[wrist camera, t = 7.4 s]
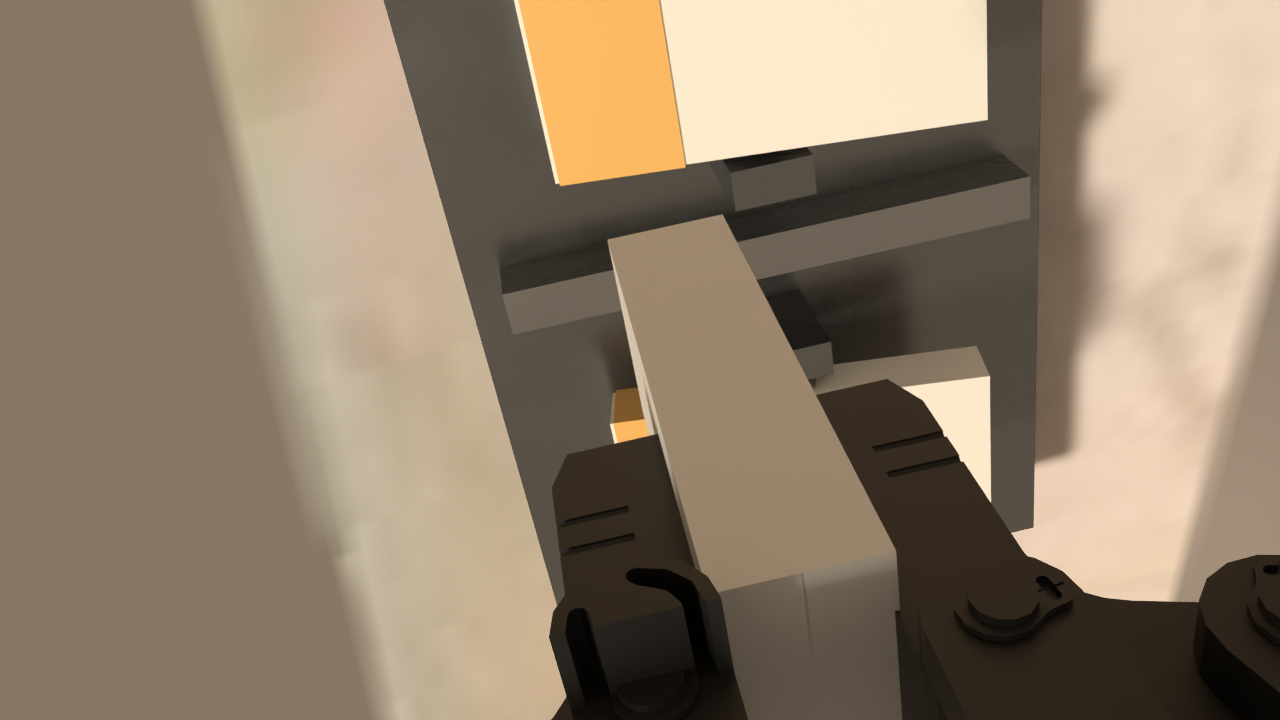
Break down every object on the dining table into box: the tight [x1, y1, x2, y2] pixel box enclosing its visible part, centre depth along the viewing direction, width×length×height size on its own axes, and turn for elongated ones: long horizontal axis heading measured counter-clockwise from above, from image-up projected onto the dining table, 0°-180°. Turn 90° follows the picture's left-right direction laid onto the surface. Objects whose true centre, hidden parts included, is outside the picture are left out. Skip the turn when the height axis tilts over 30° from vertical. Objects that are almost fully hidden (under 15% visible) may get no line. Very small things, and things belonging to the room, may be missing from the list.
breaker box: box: [384, 0, 1042, 606], centre depth 31 cm, size 16×26×6 cm, turn 10°
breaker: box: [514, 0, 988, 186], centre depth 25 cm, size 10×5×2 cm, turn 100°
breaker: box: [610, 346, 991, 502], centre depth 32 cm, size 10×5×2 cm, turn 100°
